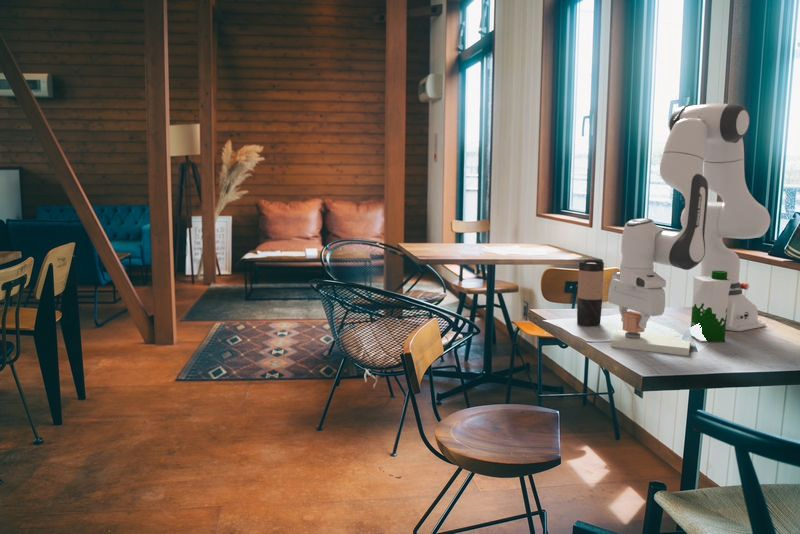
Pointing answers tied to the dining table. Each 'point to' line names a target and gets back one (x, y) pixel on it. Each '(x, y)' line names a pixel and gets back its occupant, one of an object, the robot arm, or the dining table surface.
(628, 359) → the dining table surface
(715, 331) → the milk carton
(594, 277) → the travel mug
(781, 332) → the dining table surface
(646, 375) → the dining table surface
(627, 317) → the cap
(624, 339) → the post board
